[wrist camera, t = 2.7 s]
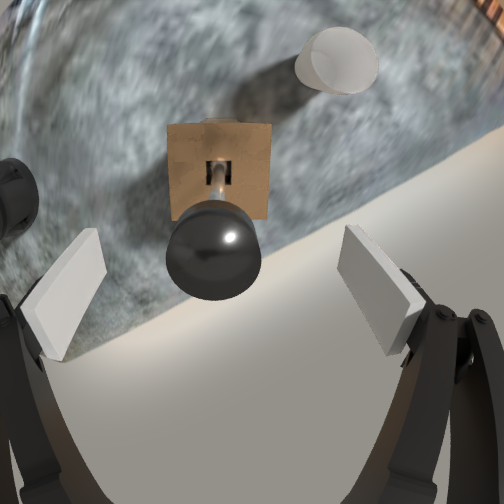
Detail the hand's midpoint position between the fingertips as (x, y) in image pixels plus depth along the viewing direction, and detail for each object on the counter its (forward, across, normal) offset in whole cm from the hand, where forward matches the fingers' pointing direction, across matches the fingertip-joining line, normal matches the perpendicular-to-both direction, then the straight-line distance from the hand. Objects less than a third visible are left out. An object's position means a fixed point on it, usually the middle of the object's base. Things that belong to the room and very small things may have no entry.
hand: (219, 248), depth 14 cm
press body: (+31, 0, -1) cm, 31 cm away
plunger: (+19, 0, 0) cm, 19 cm away
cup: (+31, +14, +14) cm, 37 cm away
